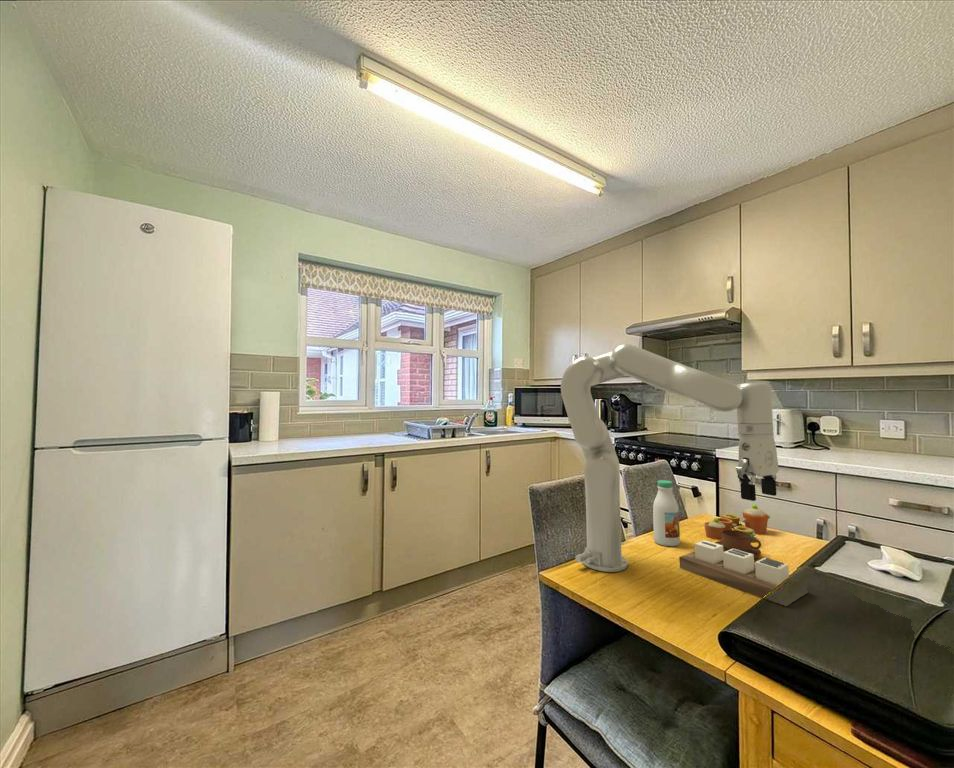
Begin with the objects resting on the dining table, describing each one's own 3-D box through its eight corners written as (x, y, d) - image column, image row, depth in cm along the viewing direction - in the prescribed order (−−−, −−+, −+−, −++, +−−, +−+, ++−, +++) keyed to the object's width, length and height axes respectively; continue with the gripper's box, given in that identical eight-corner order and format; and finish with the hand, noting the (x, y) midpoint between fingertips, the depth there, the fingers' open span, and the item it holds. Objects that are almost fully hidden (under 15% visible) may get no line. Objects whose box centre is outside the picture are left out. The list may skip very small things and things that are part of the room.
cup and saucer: (746, 547, 125) (745, 527, 125) (770, 563, 113) (769, 541, 113) (706, 546, 126) (705, 527, 126) (726, 562, 114) (725, 540, 114)
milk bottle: (655, 545, 127) (653, 483, 128) (652, 537, 134) (650, 478, 135) (682, 548, 125) (680, 484, 125) (677, 539, 132) (675, 479, 133)
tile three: (779, 586, 93) (779, 568, 93) (755, 578, 97) (755, 560, 97) (789, 581, 95) (788, 563, 96) (765, 573, 100) (764, 556, 100)
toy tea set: (724, 521, 152) (723, 496, 152) (773, 531, 140) (772, 503, 140) (696, 537, 135) (695, 508, 135) (750, 550, 123) (748, 518, 124)
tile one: (713, 564, 106) (713, 548, 106) (695, 558, 110) (694, 542, 110) (723, 560, 108) (723, 544, 108) (705, 554, 112) (704, 539, 113)
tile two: (744, 574, 99) (744, 557, 99) (723, 567, 103) (723, 551, 104) (754, 570, 102) (753, 553, 102) (733, 563, 106) (732, 547, 106)
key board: (786, 607, 89) (785, 593, 89) (679, 567, 110) (679, 556, 110) (808, 593, 95) (807, 580, 95) (703, 558, 116) (703, 548, 116)
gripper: (752, 433, 95) (756, 505, 94) (789, 429, 103) (793, 495, 102) (721, 431, 101) (724, 498, 101) (757, 427, 110) (761, 490, 109)
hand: (759, 497), depth 101 cm, fingers open, 9 cm apart
